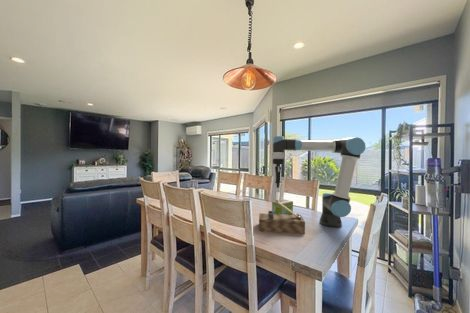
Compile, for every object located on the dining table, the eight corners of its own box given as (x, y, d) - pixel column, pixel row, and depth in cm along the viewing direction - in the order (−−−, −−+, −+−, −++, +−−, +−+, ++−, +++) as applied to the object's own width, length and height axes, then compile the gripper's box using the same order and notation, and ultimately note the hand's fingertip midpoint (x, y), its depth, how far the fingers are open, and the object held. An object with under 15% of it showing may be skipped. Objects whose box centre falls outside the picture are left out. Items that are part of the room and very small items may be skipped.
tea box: (281, 223, 156) (282, 203, 156) (271, 220, 164) (271, 201, 164) (293, 219, 166) (293, 200, 166) (282, 216, 174) (282, 198, 174)
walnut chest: (301, 225, 151) (301, 210, 151) (305, 233, 137) (305, 217, 137) (259, 223, 155) (259, 209, 154) (259, 231, 141) (259, 215, 140)
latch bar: (298, 217, 146) (300, 215, 146) (299, 219, 142) (301, 217, 142) (274, 199, 148) (275, 198, 148) (274, 201, 144) (276, 199, 144)
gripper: (272, 158, 152) (271, 190, 152) (273, 158, 139) (272, 193, 140) (282, 158, 151) (282, 190, 152) (284, 158, 138) (284, 194, 139)
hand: (277, 192), depth 146 cm, fingers closed
